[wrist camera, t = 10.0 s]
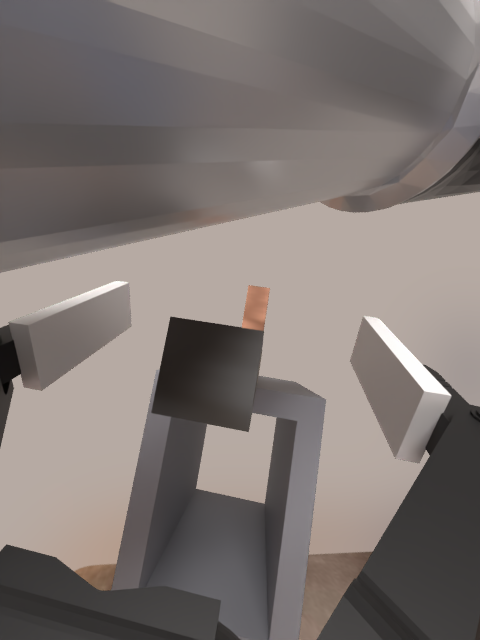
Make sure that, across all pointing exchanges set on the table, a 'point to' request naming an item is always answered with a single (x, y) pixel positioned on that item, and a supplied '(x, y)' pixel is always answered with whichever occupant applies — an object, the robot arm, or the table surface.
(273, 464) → the shelf
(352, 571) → the table surface
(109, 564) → the table surface
